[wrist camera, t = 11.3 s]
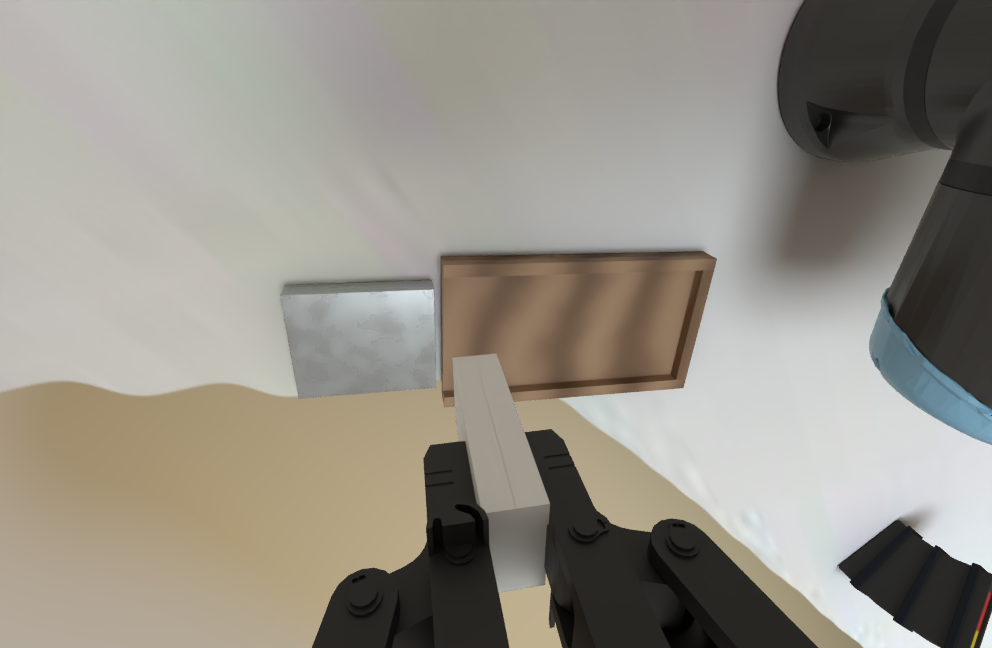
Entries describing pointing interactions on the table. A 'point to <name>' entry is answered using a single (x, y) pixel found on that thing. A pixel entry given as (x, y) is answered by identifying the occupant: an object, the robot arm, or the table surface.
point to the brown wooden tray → (575, 320)
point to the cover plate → (361, 336)
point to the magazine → (923, 587)
